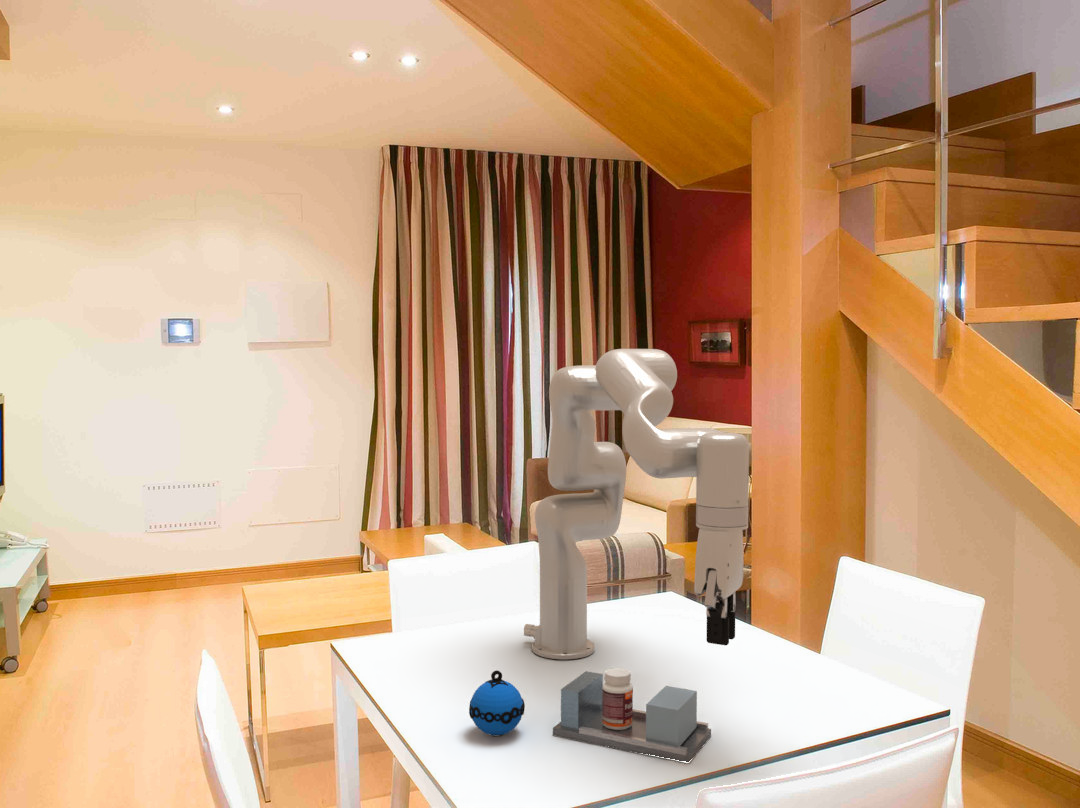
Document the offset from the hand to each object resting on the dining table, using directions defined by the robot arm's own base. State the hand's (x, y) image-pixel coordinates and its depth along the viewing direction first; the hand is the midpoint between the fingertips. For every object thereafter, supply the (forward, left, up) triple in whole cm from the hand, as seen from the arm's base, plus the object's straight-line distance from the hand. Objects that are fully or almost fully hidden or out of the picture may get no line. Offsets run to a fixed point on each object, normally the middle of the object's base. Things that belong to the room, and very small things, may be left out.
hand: (720, 639), depth 134 cm
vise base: (-14, 0, -17) cm, 22 cm away
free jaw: (-7, 0, -16) cm, 17 cm away
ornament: (-33, -9, -17) cm, 38 cm away
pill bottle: (-17, 0, -16) cm, 23 cm away
